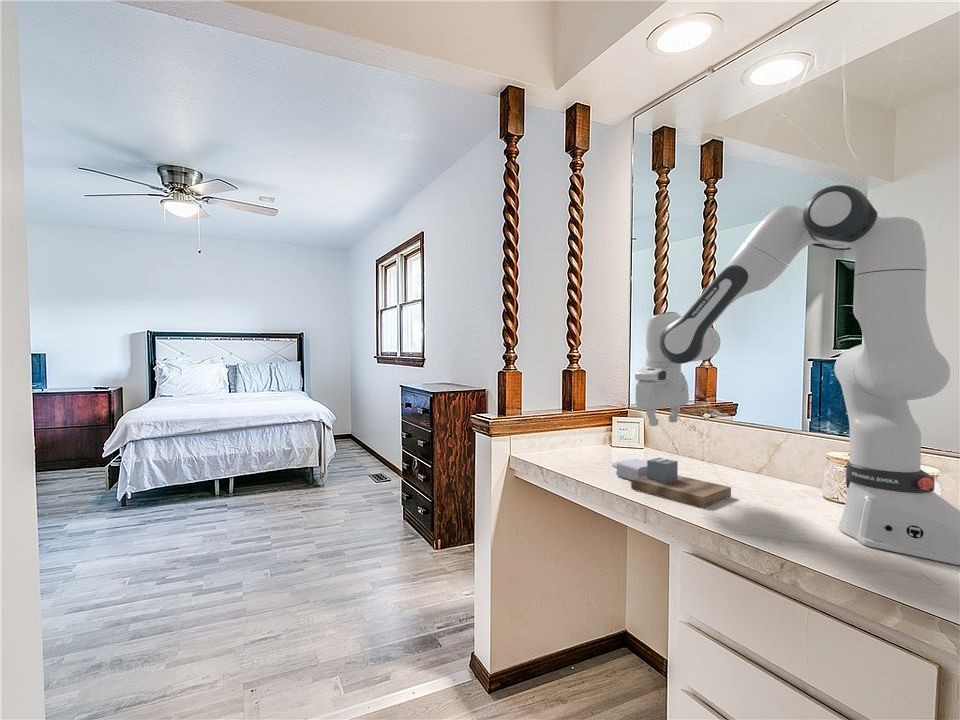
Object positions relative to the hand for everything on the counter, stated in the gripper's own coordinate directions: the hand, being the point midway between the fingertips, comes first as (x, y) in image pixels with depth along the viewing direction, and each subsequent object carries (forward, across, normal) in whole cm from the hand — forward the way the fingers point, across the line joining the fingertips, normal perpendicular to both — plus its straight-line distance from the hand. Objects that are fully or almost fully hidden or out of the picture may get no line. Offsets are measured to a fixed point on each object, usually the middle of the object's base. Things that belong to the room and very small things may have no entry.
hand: (663, 423), depth 131 cm
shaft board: (+18, 0, +5) cm, 18 cm away
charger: (+18, -5, -13) cm, 23 cm away
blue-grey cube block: (+15, 0, 0) cm, 15 cm away
